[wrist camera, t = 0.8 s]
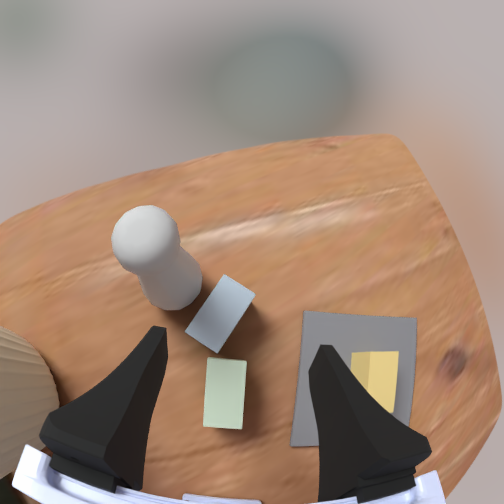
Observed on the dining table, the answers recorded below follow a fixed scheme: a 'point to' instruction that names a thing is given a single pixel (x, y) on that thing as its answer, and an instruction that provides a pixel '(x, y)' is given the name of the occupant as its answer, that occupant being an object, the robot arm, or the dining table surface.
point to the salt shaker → (157, 257)
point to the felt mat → (345, 343)
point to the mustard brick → (377, 375)
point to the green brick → (224, 393)
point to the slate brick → (220, 313)
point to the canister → (22, 398)
